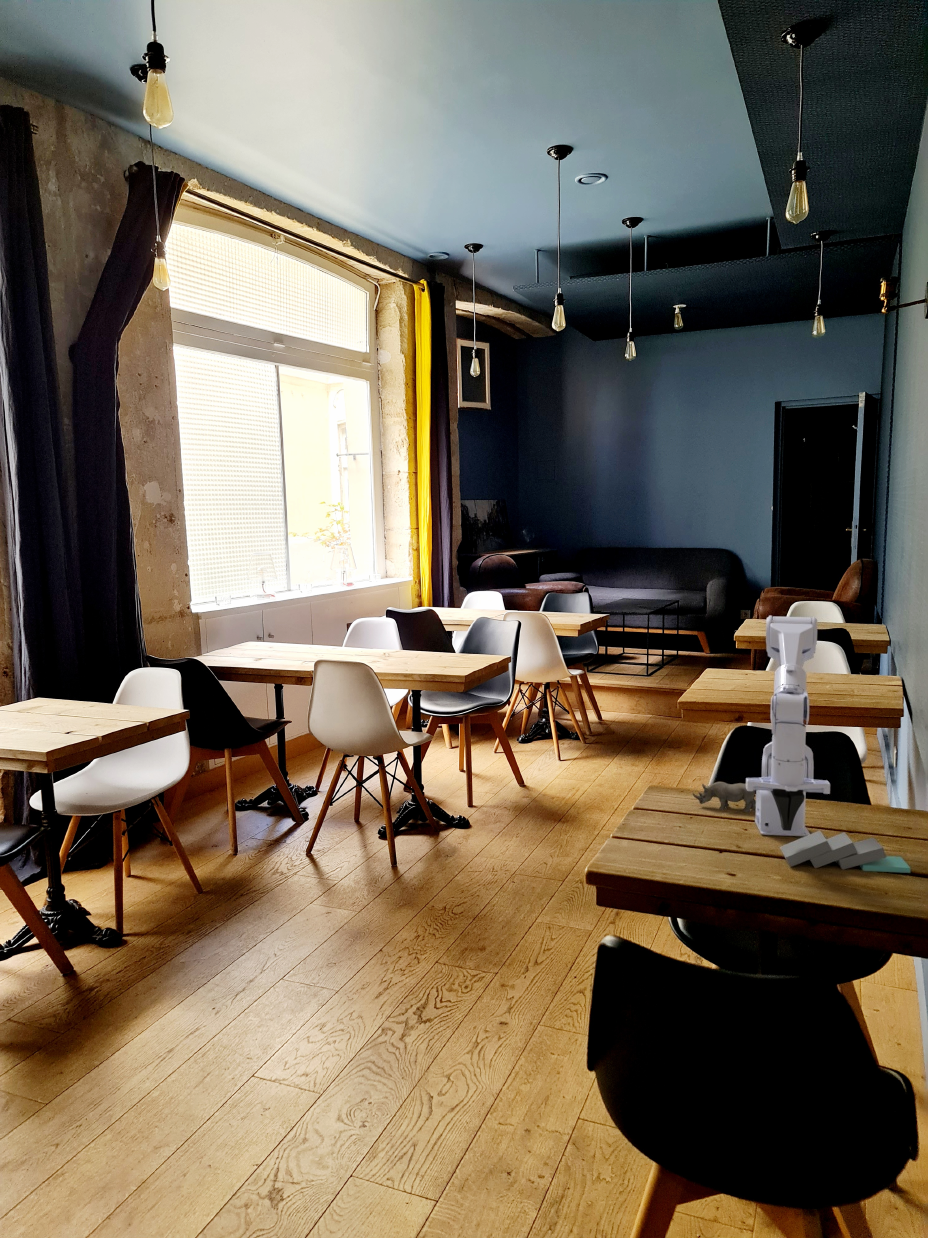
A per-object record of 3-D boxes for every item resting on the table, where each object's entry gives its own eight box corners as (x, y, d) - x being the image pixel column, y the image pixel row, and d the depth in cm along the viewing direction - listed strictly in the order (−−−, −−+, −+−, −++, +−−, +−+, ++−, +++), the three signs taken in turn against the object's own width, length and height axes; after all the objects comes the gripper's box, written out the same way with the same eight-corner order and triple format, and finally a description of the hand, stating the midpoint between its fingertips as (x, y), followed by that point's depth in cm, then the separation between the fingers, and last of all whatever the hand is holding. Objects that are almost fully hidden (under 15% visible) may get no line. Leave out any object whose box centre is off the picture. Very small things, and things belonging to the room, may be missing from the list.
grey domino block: (838, 859, 156) (883, 847, 155) (830, 849, 161) (873, 837, 160) (842, 869, 156) (886, 857, 155) (833, 859, 161) (876, 847, 160)
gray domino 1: (785, 857, 157) (827, 840, 156) (779, 847, 162) (819, 830, 161) (790, 867, 157) (831, 850, 156) (784, 856, 162) (824, 839, 161)
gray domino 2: (810, 859, 157) (852, 842, 155) (803, 848, 162) (844, 832, 160) (815, 868, 157) (857, 852, 155) (808, 857, 162) (848, 841, 160)
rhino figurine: (692, 803, 193) (692, 777, 193) (756, 807, 190) (756, 781, 189) (692, 809, 189) (692, 783, 189) (757, 813, 186) (758, 787, 185)
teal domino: (863, 865, 155) (910, 868, 154) (855, 854, 160) (900, 857, 159) (862, 876, 156) (909, 878, 154) (854, 865, 160) (900, 867, 159)
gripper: (751, 762, 155) (749, 835, 156) (835, 765, 152) (832, 838, 154) (744, 752, 162) (743, 821, 163) (825, 754, 159) (823, 824, 161)
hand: (786, 828), depth 159 cm, fingers closed
